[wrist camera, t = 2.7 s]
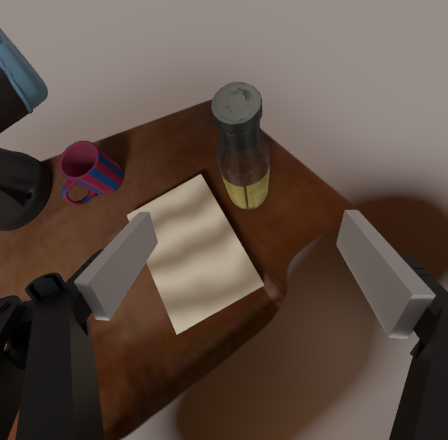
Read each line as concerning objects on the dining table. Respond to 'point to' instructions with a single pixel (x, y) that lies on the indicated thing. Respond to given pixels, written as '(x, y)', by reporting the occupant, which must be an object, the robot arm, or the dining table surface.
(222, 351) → the dining table surface
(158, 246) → the birch board
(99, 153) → the mug
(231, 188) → the sauce bottle
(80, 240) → the dining table surface
